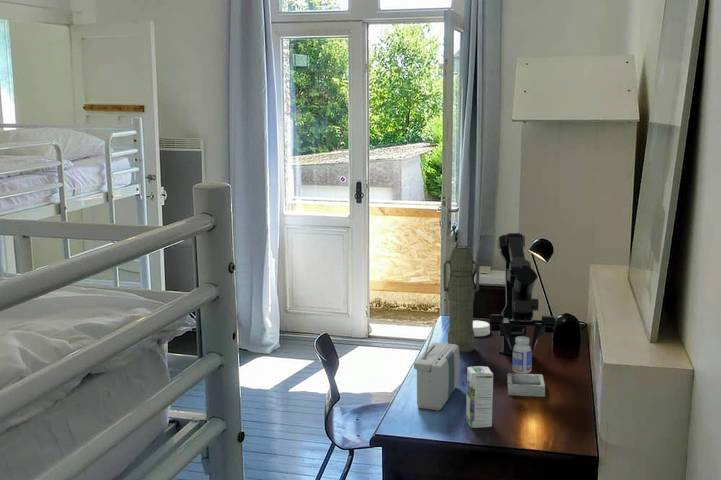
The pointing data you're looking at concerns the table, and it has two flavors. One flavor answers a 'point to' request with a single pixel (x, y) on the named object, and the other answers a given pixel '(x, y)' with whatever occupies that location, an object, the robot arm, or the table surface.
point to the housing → (526, 385)
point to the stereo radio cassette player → (437, 374)
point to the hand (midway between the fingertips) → (522, 350)
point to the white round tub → (481, 328)
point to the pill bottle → (522, 355)
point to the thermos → (461, 297)
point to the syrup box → (479, 397)
